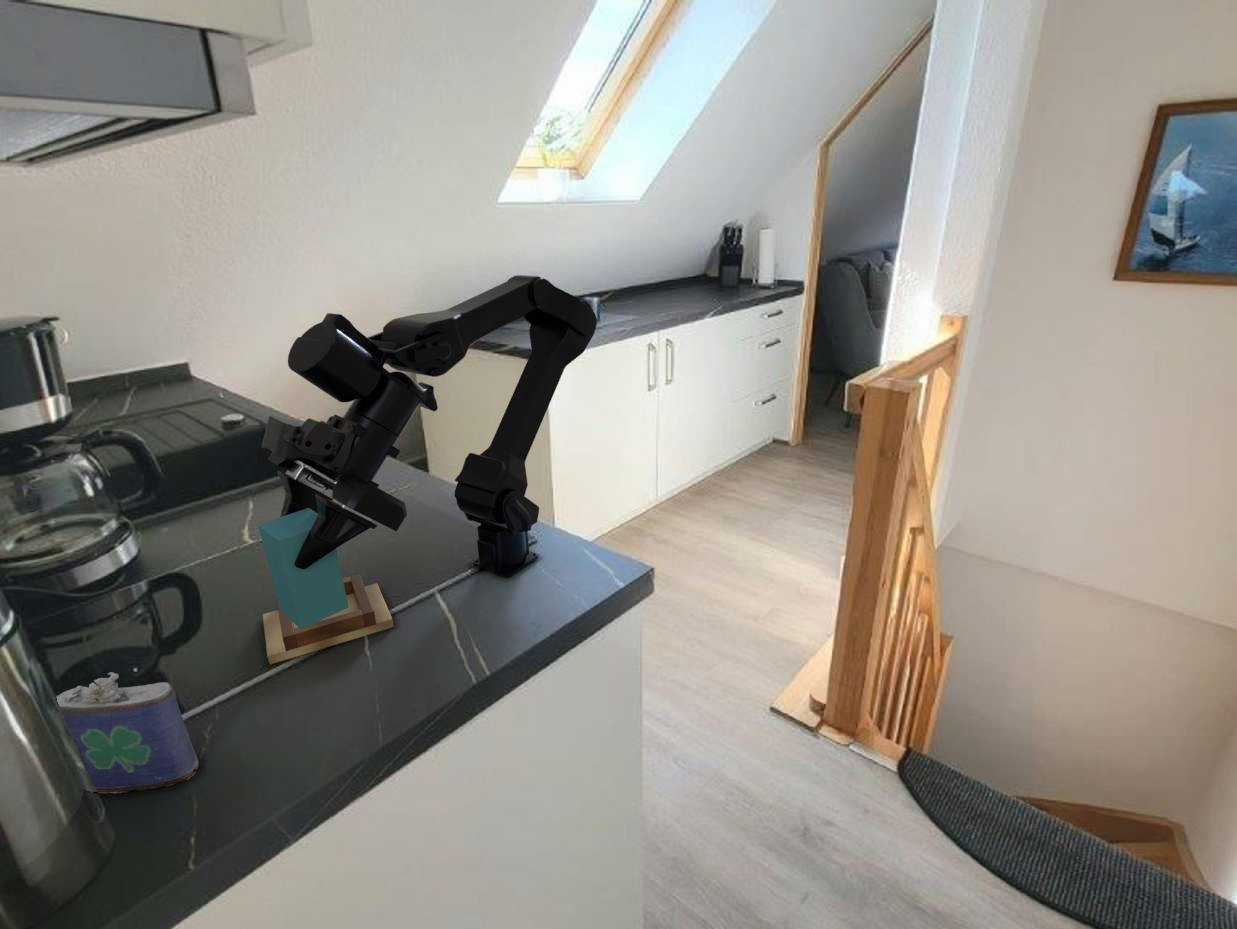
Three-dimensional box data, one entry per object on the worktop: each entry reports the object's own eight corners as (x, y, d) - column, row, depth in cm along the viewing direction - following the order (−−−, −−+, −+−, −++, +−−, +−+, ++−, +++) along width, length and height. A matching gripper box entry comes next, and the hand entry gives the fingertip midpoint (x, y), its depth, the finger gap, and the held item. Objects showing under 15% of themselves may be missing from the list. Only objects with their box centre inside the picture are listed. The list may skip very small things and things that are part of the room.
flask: (205, 760, 58) (171, 661, 54) (188, 787, 55) (151, 686, 51) (95, 769, 57) (53, 670, 53) (72, 797, 54) (26, 695, 50)
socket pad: (378, 590, 83) (374, 569, 82) (394, 628, 75) (390, 606, 74) (264, 621, 77) (258, 600, 76) (269, 666, 69) (263, 643, 68)
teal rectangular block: (327, 590, 71) (308, 507, 67) (349, 607, 68) (330, 521, 64) (279, 610, 67) (257, 524, 64) (300, 629, 64) (278, 540, 60)
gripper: (268, 367, 67) (176, 499, 64) (354, 399, 56) (247, 562, 52) (353, 421, 76) (276, 540, 72) (444, 459, 64) (357, 603, 60)
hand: (287, 558), depth 64 cm, fingers closed on teal rectangular block, 5 cm apart
